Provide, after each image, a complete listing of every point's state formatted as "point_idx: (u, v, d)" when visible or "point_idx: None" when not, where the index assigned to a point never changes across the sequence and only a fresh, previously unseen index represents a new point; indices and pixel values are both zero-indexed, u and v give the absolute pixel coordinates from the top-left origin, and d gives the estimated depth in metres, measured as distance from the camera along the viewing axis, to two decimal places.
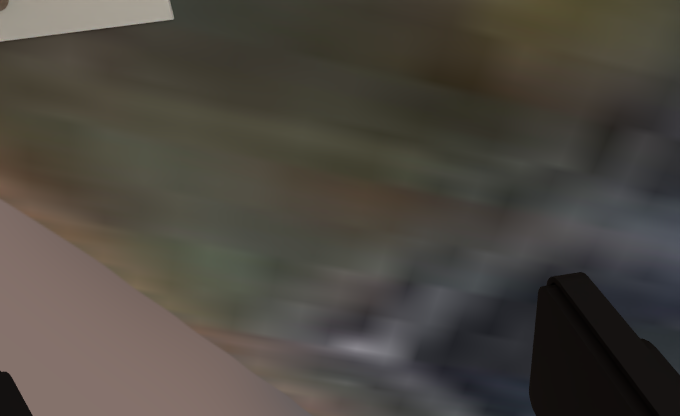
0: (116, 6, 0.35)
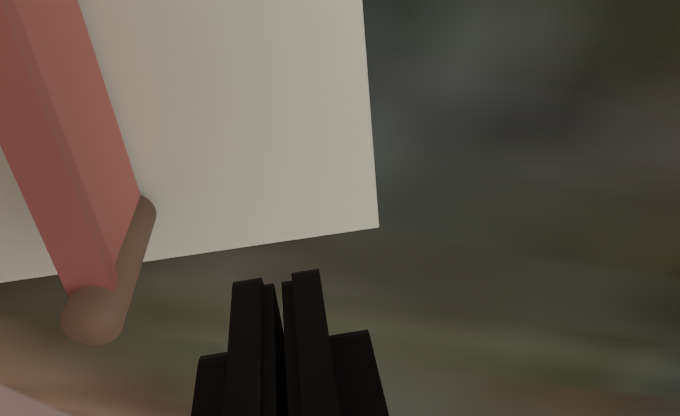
0: (304, 214, 0.25)
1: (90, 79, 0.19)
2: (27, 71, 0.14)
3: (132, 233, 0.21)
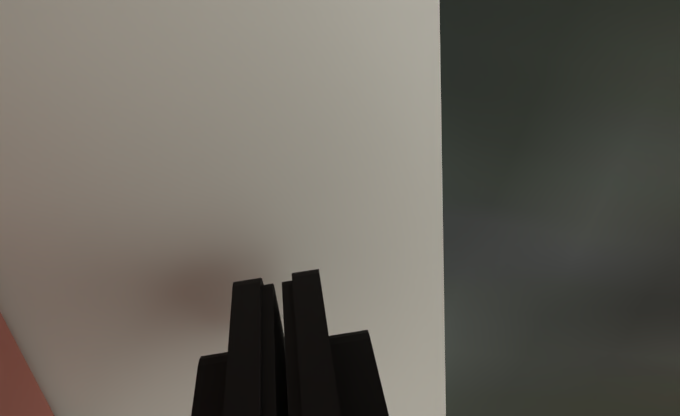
0: None
1: None
2: None
3: None
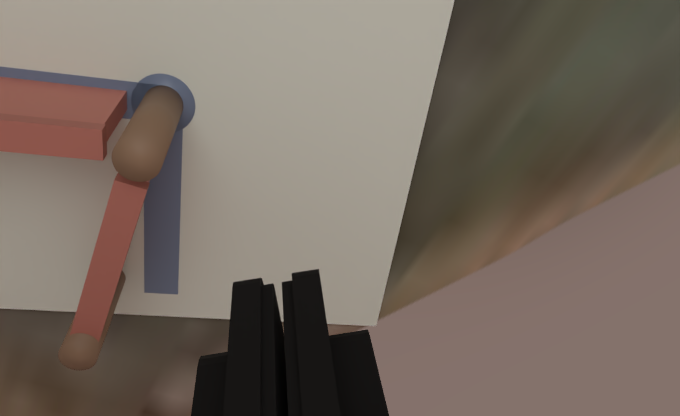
0: (430, 3, 0.28)
1: None
2: (134, 228, 0.26)
3: (113, 300, 0.31)
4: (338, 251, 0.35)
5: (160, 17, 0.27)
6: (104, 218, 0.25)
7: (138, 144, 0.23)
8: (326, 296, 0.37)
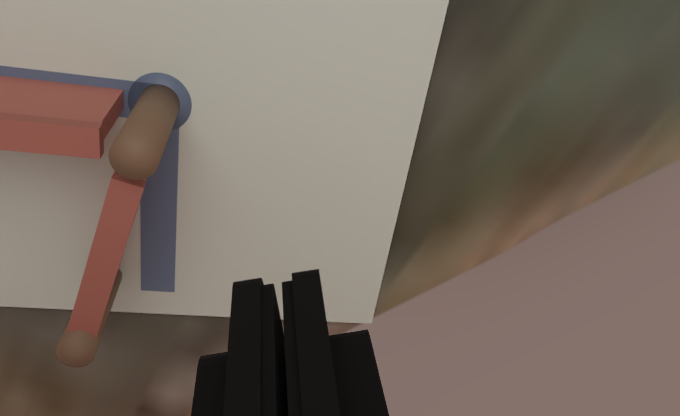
0: (424, 3, 0.29)
1: None
2: (131, 226, 0.26)
3: (109, 297, 0.32)
4: (334, 249, 0.35)
5: (157, 17, 0.28)
6: (101, 216, 0.25)
7: (135, 143, 0.23)
8: None
